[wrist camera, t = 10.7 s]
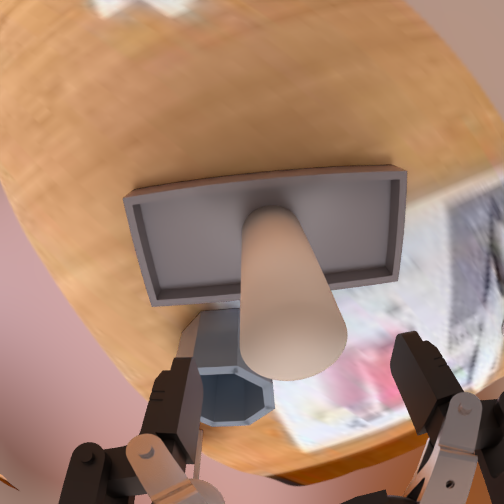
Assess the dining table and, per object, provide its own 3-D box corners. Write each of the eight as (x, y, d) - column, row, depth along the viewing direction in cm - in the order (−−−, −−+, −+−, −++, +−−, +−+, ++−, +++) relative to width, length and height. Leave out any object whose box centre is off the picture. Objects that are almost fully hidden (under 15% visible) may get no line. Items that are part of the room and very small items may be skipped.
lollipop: (166, 417, 34) (148, 520, 21) (219, 415, 34) (214, 525, 20) (184, 443, 37) (174, 534, 24) (232, 441, 37) (231, 537, 23)
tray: (392, 164, 22) (407, 171, 19) (386, 266, 25) (397, 281, 23) (134, 189, 22) (122, 198, 20) (158, 290, 26) (151, 306, 24)
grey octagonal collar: (265, 305, 27) (270, 362, 20) (271, 367, 30) (276, 423, 24) (176, 312, 27) (160, 368, 21) (194, 372, 30) (186, 426, 24)
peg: (299, 202, 22) (351, 294, 11) (302, 257, 24) (342, 373, 13) (238, 208, 22) (232, 307, 11) (245, 263, 24) (246, 385, 13)
